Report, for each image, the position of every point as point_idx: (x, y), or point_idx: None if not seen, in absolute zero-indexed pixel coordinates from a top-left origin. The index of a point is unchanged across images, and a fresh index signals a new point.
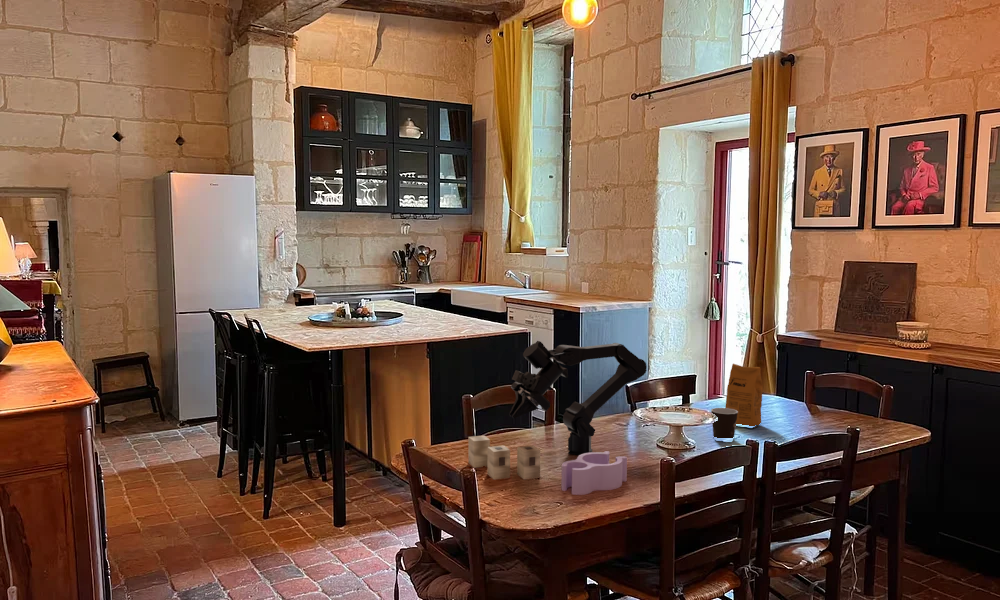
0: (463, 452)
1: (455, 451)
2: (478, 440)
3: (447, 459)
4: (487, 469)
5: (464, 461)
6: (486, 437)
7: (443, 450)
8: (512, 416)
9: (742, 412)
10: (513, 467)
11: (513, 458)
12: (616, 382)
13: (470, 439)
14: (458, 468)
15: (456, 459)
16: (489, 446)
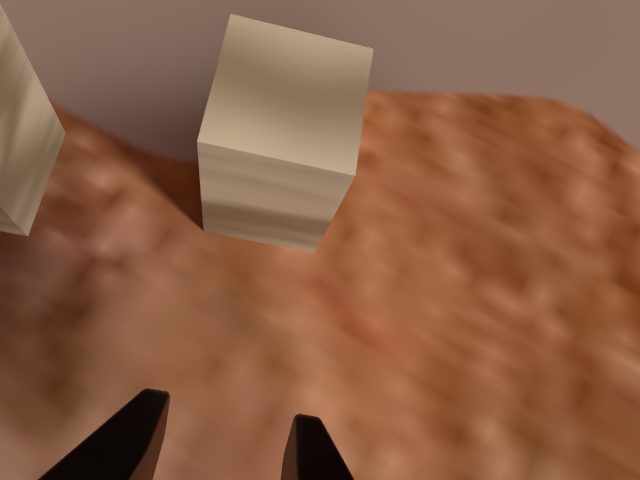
0: (535, 237)
1: (570, 207)
2: (231, 53)
3: (443, 96)
4: (56, 116)
5: (365, 151)
6: (281, 156)
7: (611, 161)
8: (151, 389)
9: None
10: (72, 353)
11: (261, 476)
12: None
13: (318, 40)
14: None
15: (422, 134)
16: (200, 169)
